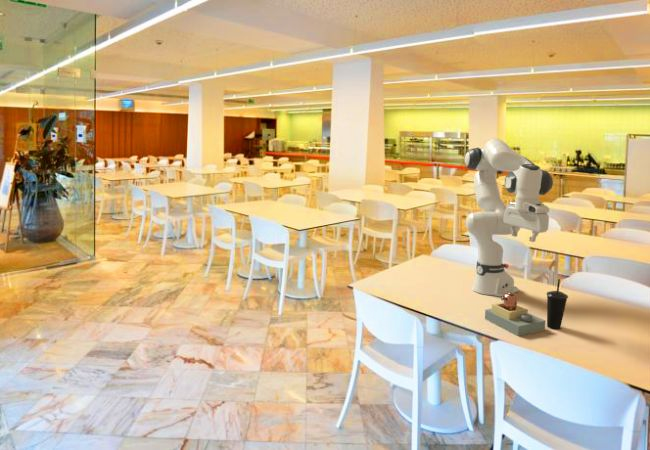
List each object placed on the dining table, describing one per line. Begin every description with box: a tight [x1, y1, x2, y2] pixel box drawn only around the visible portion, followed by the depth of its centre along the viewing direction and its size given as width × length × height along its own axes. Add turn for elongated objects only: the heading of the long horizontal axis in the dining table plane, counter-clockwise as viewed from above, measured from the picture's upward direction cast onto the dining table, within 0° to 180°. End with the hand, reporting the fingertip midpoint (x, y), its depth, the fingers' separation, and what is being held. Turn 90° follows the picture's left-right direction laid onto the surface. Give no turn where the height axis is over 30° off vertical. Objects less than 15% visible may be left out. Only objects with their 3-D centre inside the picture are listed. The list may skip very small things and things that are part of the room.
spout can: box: [500, 292, 519, 311], centre depth 192 cm, size 7×5×9 cm
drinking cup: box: [546, 278, 569, 330], centre depth 189 cm, size 8×8×20 cm
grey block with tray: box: [484, 301, 547, 337], centre depth 192 cm, size 14×18×7 cm
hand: (523, 238), depth 194 cm, fingers open, 8 cm apart
